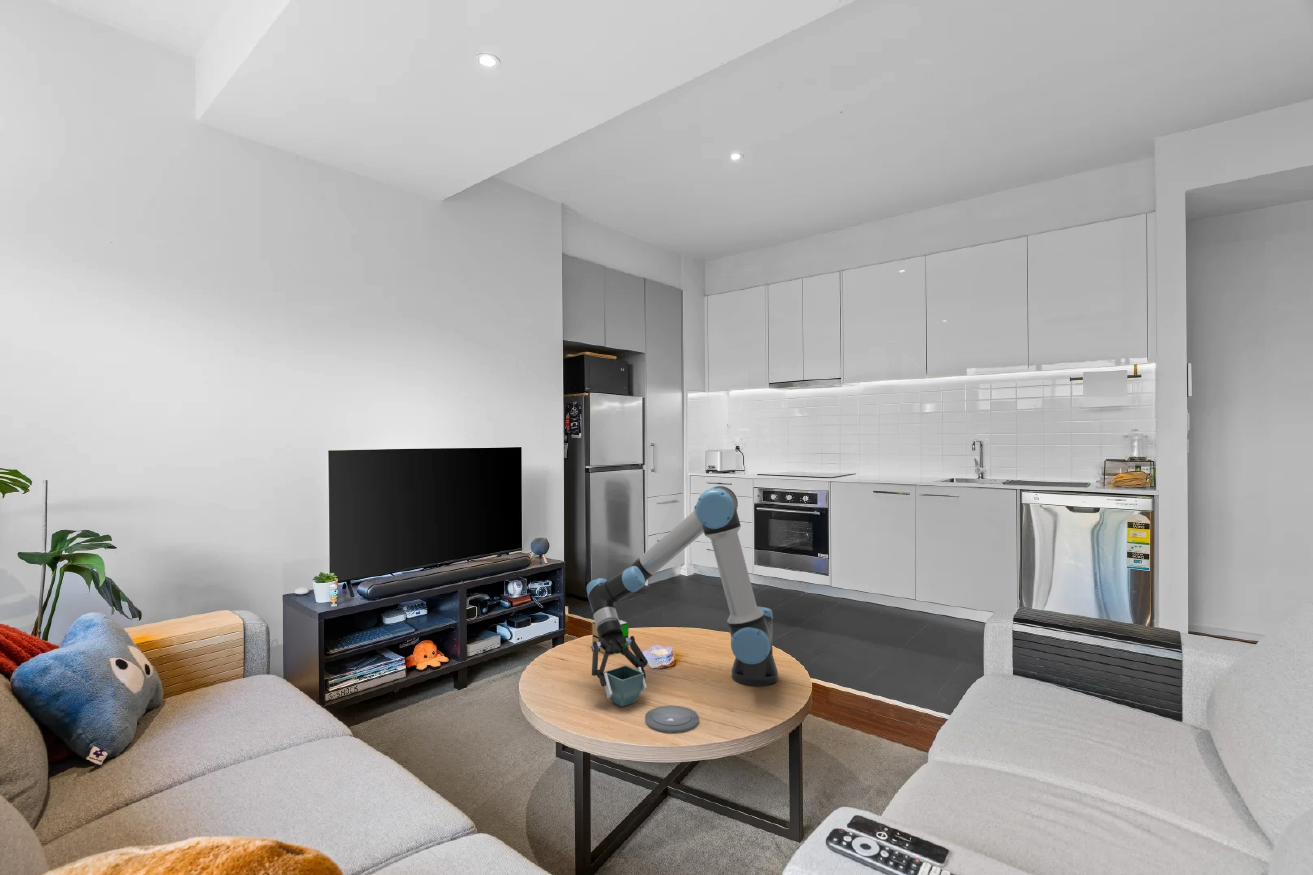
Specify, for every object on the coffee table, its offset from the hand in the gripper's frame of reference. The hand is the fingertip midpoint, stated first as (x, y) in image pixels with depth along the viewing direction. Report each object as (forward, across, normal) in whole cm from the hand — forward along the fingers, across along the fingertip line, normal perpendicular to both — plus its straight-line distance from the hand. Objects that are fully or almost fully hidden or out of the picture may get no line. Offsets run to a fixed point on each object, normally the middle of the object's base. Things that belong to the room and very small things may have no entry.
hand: (627, 692), depth 183 cm
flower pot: (+1, 0, -5) cm, 5 cm away
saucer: (+13, -8, +7) cm, 16 cm away
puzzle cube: (-32, -14, -38) cm, 52 cm away
